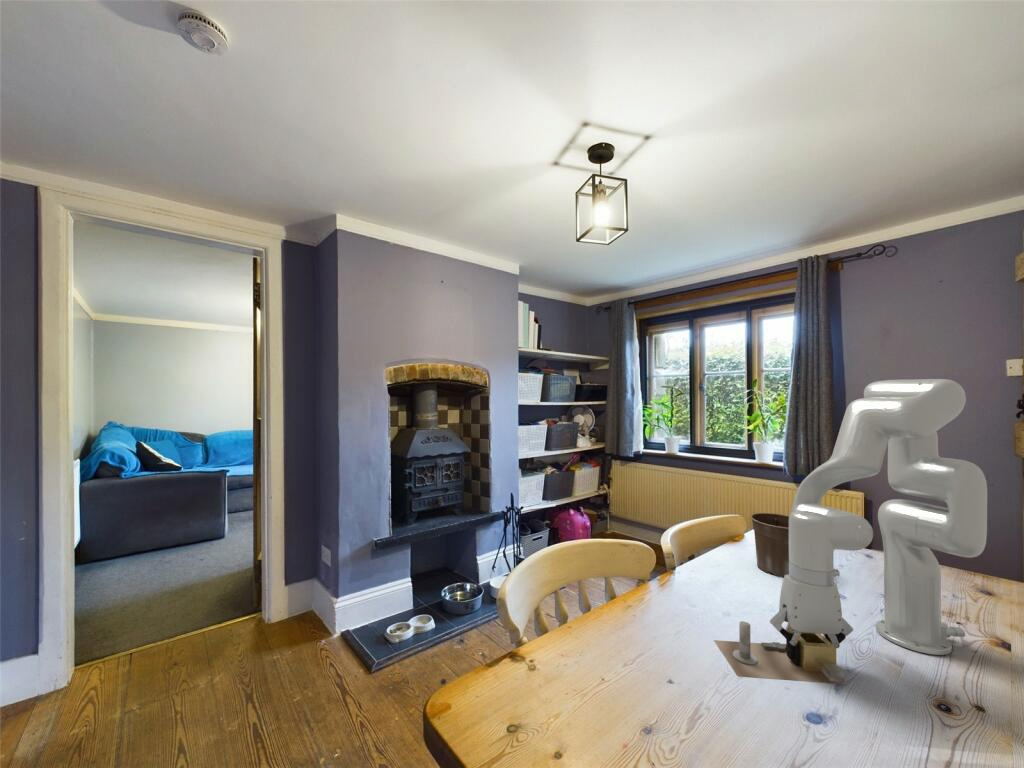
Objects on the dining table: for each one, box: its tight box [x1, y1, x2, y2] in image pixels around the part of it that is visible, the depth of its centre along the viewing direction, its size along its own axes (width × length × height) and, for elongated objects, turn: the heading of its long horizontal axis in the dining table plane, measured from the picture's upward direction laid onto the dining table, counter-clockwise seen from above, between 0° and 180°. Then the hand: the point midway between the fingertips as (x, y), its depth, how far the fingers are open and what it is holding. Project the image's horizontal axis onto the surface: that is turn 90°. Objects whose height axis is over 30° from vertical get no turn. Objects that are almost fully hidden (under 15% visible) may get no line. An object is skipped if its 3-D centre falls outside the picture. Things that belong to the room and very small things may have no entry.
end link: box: [797, 632, 837, 673], centre depth 86 cm, size 6×6×5 cm
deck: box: [713, 620, 848, 685], centre depth 86 cm, size 20×12×8 cm, turn 85°
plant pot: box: [749, 512, 790, 578], centre depth 135 cm, size 16×16×16 cm
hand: (810, 662), depth 85 cm, fingers closed on end link, 6 cm apart
